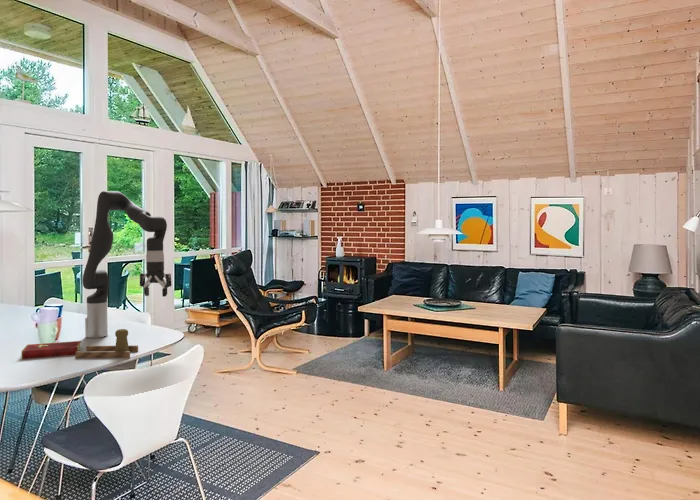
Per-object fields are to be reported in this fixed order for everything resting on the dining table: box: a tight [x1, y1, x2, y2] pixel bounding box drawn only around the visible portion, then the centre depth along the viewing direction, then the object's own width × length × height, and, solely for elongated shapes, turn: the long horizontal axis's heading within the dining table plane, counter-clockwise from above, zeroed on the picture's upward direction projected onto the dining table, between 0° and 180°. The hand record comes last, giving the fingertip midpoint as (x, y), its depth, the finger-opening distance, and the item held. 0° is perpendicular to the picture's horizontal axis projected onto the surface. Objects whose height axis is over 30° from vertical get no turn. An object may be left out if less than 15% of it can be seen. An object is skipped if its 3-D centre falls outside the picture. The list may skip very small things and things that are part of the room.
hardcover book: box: [21, 340, 82, 360], centre depth 220 cm, size 12×21×4 cm, turn 113°
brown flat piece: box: [75, 344, 139, 359], centre depth 220 cm, size 22×11×2 cm, turn 94°
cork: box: [114, 328, 129, 351], centre depth 220 cm, size 6×6×11 cm
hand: (155, 296), depth 230 cm, fingers open, 8 cm apart
